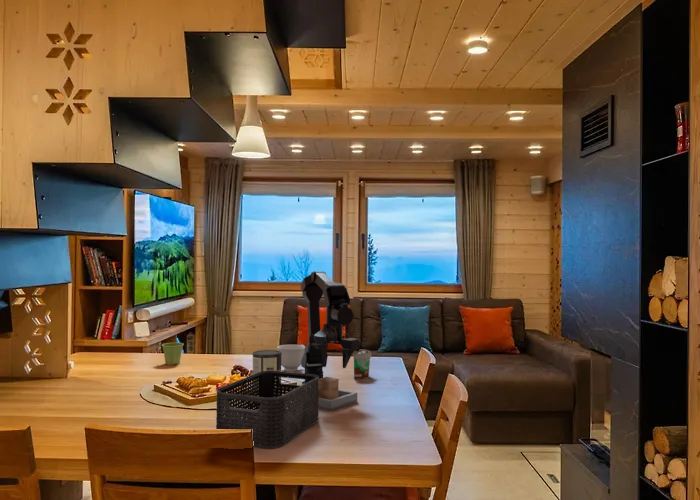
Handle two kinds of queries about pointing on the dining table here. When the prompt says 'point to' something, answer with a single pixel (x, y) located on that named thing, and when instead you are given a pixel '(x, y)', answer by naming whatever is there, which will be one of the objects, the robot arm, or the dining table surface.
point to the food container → (361, 364)
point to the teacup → (291, 356)
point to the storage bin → (269, 407)
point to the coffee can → (266, 361)
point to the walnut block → (328, 388)
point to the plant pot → (172, 353)
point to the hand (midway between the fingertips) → (333, 366)
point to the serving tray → (338, 400)
